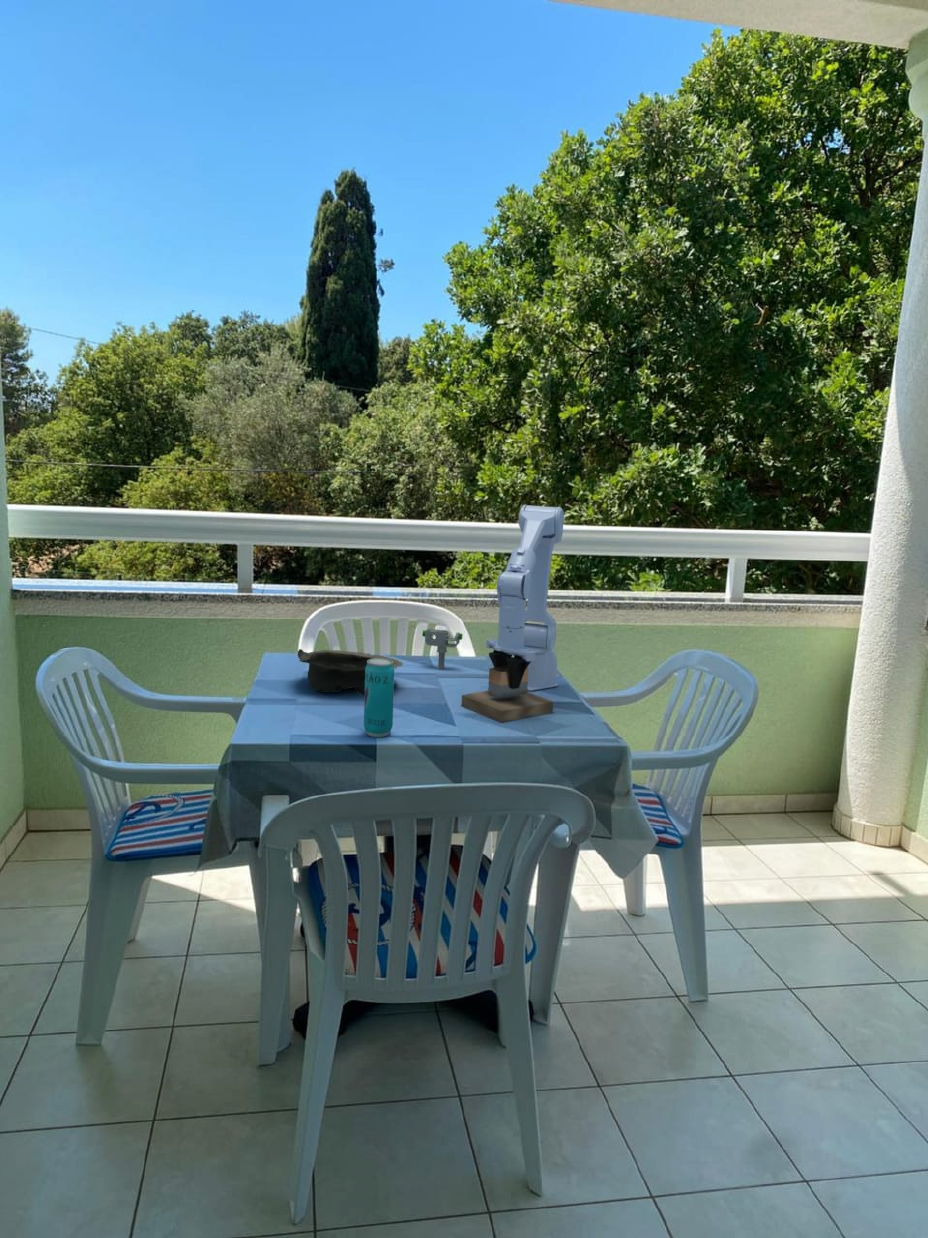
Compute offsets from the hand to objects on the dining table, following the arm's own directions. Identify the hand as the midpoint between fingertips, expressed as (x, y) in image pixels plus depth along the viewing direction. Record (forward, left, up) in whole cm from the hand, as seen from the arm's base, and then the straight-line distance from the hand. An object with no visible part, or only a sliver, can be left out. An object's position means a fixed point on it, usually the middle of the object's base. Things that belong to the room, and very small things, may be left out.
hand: (508, 685), depth 202 cm
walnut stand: (0, 0, -5) cm, 5 cm away
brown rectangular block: (0, 0, -2) cm, 2 cm away
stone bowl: (+21, -33, -6) cm, 40 cm away
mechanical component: (-8, -36, -6) cm, 37 cm away
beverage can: (+34, 0, -6) cm, 34 cm away
